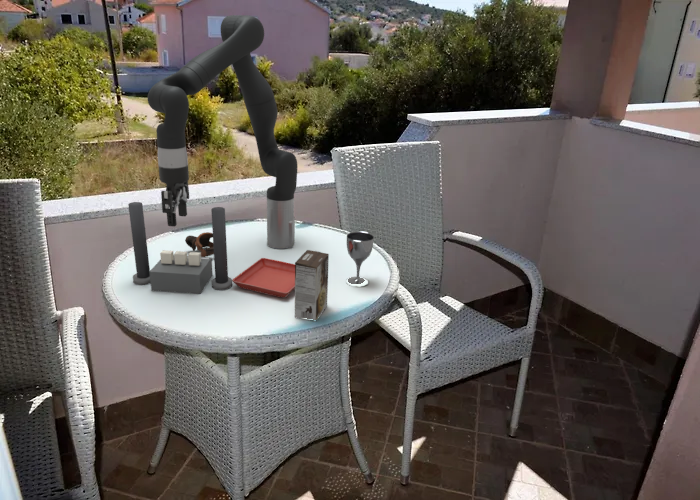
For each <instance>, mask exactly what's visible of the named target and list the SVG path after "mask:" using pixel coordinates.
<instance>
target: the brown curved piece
mask: <svg viewBox="0 0 700 500" xmlns="http://www.w3.org/2000/svg"><path fill="white" fill-rule="evenodd" d="M211 239H213V232H202V233H200V234H199V235H198V236H194V235H188V236H186V237H185V239H184V240H185V243H186V245H187V246H188V247H190V248H191V249H192V252H196V250H197V251H199V252H200V253H201V257H210V256H214V247H213V241H210V240H211ZM204 248H205V249H204Z"/></svg>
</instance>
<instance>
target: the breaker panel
mask: <svg viewBox="0 0 700 500" xmlns="http://www.w3.org/2000/svg"><path fill="white" fill-rule="evenodd" d="M187 259H188V255H187ZM174 260H175V258H174ZM188 261H189V260H188ZM201 262H202V264H200V265H199V266H197V265H189V264H187V263H186V265H181V264H175V263H172V264H165V263H161V259H159V261H158V262H156V264H155V265H154V266H153V267H152V268H151V269H150V271H149V274H150V290H151V291H152V292H164V293H165V292H166V293H167V292H168V293H180V294H182V293H183V294H194V295H195V294H197V295H198V294H199V295H201V294H202V292H203V291H204V289H206V286H207V285H208V283H209V282H210V281H211V280H212V278H213V259H212V257H210V256H208V257H207V256H206V257H201Z"/></svg>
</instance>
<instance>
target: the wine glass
mask: <svg viewBox="0 0 700 500" xmlns="http://www.w3.org/2000/svg"><path fill="white" fill-rule="evenodd" d="M374 239H375V236H374V235H373V234H372V233H370V232H367V231H351V232H349V233H347V235H346V249H347V253H348V255H349V257H350V258H351V259H352V260H353V261H354V263H355V266H356V276H351V278H350V277H348V278H349V279H348V278H347V279H348V282H349V283H351V284H361V283H363V282H364V281H365V280H364V279H363V278H364V277H363V278H360V277H361V276H360V271H361V267H362V264H363V263H364V262H365V261H366V260H367V259H368V258H369V257H370V256H371V254H372V251H373V247H374Z"/></svg>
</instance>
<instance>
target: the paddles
mask: <svg viewBox="0 0 700 500" xmlns="http://www.w3.org/2000/svg"><path fill="white" fill-rule="evenodd" d="M159 255H160V260H161V263H165V264H172V263H175V264H181V265H186V263H187V264H189V265H197V266H199V265H200V264H202V262H201V252H197V251H190V252H189V253H188V251H181V250H179V251H178V250H177V251H175V252H174V250H165V249H164V250H163V249H162V251H160V253H159ZM187 256H188V259H187ZM174 258H175V260H174ZM188 260H189V261H188Z"/></svg>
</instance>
